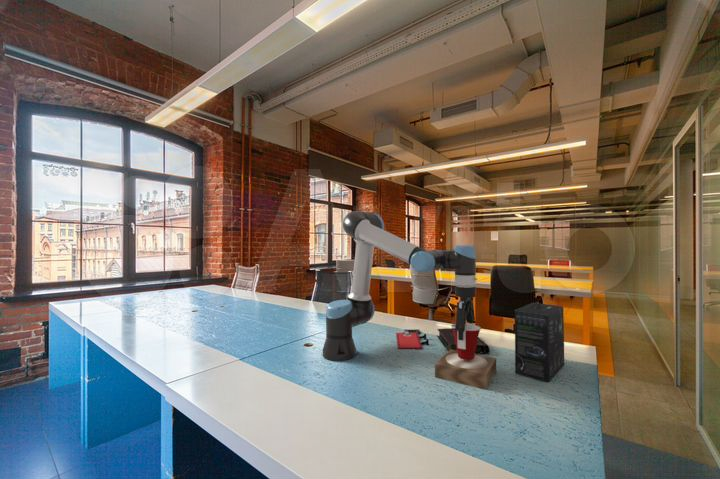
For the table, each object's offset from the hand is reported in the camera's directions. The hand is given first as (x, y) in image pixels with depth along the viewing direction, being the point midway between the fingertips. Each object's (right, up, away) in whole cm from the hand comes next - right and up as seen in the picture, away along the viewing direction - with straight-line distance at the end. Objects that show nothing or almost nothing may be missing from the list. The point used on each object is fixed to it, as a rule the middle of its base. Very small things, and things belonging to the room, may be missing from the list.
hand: (465, 344), depth 117 cm
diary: (+9, -12, +33) cm, 36 cm away
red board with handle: (-14, -12, +42) cm, 46 cm away
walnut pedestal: (0, -11, 0) cm, 11 cm away
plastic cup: (0, -5, 0) cm, 5 cm away
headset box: (+30, -11, +4) cm, 33 cm away
